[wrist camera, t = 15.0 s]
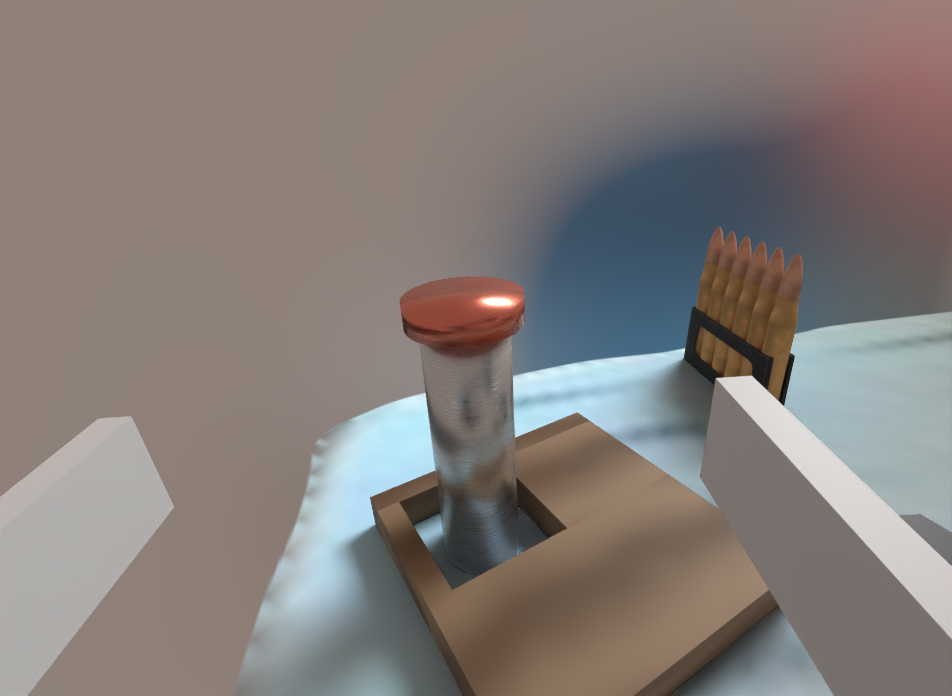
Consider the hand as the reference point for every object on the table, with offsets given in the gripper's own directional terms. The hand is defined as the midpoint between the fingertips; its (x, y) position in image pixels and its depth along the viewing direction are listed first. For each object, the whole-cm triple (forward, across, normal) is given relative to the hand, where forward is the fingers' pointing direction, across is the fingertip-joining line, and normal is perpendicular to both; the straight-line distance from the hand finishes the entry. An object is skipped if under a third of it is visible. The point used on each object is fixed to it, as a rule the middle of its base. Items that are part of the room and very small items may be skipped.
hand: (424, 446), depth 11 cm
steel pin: (+10, 0, -14) cm, 17 cm away
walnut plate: (+9, +4, -14) cm, 17 cm away
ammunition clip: (+25, +20, -15) cm, 36 cm away
